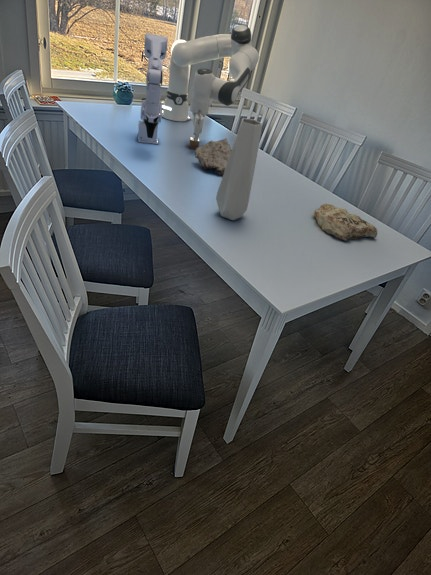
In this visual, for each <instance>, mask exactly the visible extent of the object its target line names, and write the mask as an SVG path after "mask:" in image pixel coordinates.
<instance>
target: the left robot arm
mask: <svg viewBox="0 0 431 575" xmlns="http://www.w3.org/2000/svg"><path fill="white" fill-rule="evenodd" d="M168 41H169V38H168V36H164V35H159V34H153V33H148V32H145V33H144V46H143V48H144V51H143V52H144V56H145V57H147V58H148V60H147V70H146V75H145V76H146V77H145V83H146V84H145V85H146V86H145V87H146V94H145V98H146V100H142V102H141V105H140V106H141V107H140V120H138V124H137V125H138V126H137V127H138V128H137V129H138V130H137V142H138V143H144V144H153V145H159V141H158V131H159V124H160V123H162V119H163V117H162V108H163V107H162V105H161V104H160V103H161V92H162V86H163V82H164V81H163V80H164V71H163V60H166V57H167V52H168V43H169V42H168Z"/></svg>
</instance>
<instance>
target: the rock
mask: <svg viewBox="0 0 431 575" xmlns="http://www.w3.org/2000/svg"><path fill="white" fill-rule="evenodd" d="M231 151H232V147H231V145H230V143H229V141H228V139H227V138H223V139H219V140H210V141H208V142H206V143H205V144H202V145H200V146H198V148H196V149H195V151H194V153H193V154H194V155H195V156H194V158H195V159H197V161H198V164H199V165H200V166H201V167H202V169H204V170H205V171H207V170H212V171H214V173H216V174H218V175H221V176H223V174H224V171H225V168H226V165H227V162H228V160H229V157H230V154H231Z"/></svg>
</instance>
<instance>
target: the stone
mask: <svg viewBox="0 0 431 575" xmlns="http://www.w3.org/2000/svg"><path fill="white" fill-rule="evenodd" d="M313 216H314V219H315V220H316V223H317V226H318V227H319V228H321V230H322V231H324V232H325V233H326V234H329V235H330V236H334V237H335V238H336V239H339V240H342V241H344V242H346V241H347V240H352V239H353V240H354V239H355V240H356V239H360V238H362V237H363V238H366V237H367V238H371V239H375V238H377V236H378V229H377V227H376V226H374V225H373V224H372V223H370V222H368V221H367V220H364V219H362V217H361V216H358V214H357V215H356V214H355V213H353V214H351V213H349V212H348V209H345V208H340V207H338V206H334V205H333V204H329V203H323V204H321V205H320V207H319V209H316V210H314V214H313Z"/></svg>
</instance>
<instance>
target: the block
mask: <svg viewBox="0 0 431 575" xmlns="http://www.w3.org/2000/svg"><path fill="white" fill-rule="evenodd" d="M188 144H189V145H188V146H189V147H188V148H189V149H193V150H196V148H198V147H200V146H199V145H200V137H198V141H194V137H192V136H191V137H189V143H188Z"/></svg>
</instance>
